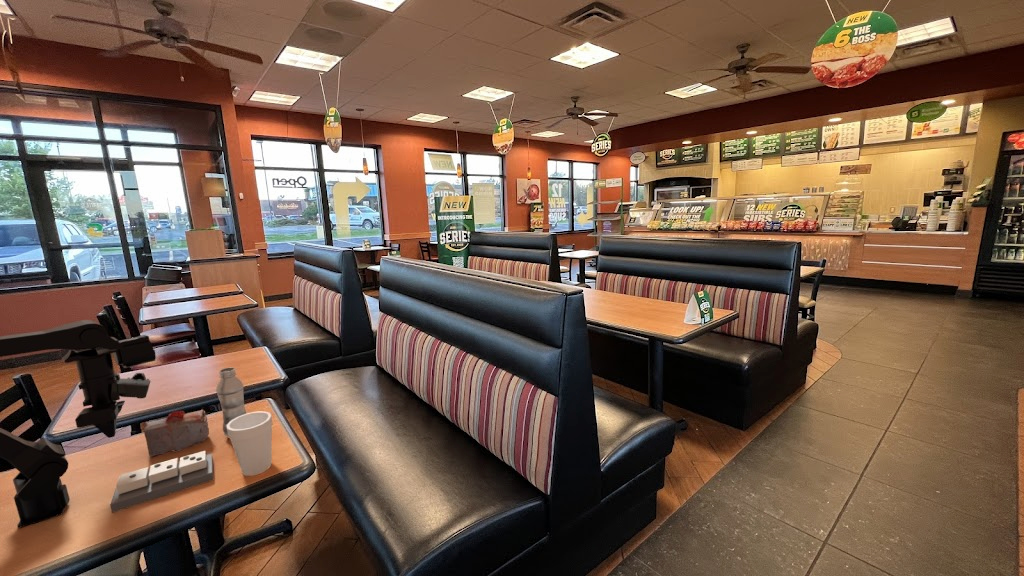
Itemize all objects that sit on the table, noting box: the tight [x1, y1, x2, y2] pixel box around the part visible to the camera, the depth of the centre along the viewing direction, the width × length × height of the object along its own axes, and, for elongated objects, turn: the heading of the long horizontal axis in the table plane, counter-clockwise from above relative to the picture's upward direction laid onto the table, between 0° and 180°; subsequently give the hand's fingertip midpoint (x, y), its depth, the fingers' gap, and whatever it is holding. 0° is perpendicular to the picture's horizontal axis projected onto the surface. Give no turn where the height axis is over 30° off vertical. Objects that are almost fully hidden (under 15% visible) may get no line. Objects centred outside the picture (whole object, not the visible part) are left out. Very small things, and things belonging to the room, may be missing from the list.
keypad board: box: [109, 453, 214, 514], centre depth 99 cm, size 18×10×2 cm, turn 126°
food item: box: [143, 409, 210, 458], centre depth 115 cm, size 14×8×10 cm, turn 126°
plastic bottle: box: [215, 367, 247, 438], centre depth 118 cm, size 6×7×20 cm
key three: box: [179, 450, 207, 475], centre depth 102 cm, size 5×5×2 cm
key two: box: [149, 457, 180, 484], centre depth 98 cm, size 5×5×2 cm
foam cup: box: [226, 410, 274, 477], centre depth 103 cm, size 10×9×13 cm
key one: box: [115, 466, 150, 494], centre depth 95 cm, size 5×5×2 cm
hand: (111, 436), depth 98 cm, fingers closed
